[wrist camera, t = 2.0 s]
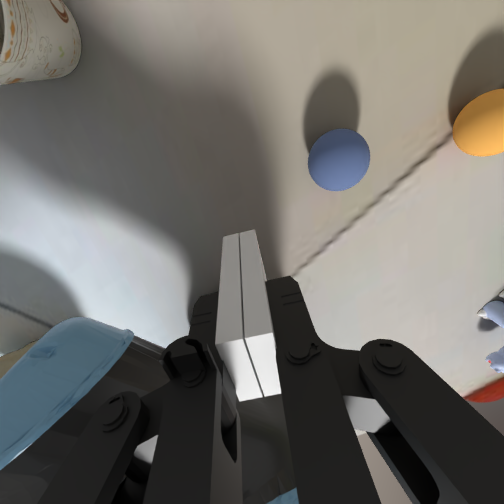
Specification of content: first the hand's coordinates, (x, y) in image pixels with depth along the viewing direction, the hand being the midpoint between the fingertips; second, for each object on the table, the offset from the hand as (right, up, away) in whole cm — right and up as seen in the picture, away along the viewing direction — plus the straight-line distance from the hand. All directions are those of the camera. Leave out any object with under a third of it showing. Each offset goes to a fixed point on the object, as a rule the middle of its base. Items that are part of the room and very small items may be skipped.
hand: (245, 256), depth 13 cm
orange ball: (+22, +12, +11) cm, 27 cm away
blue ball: (+8, +9, +11) cm, 17 cm away
